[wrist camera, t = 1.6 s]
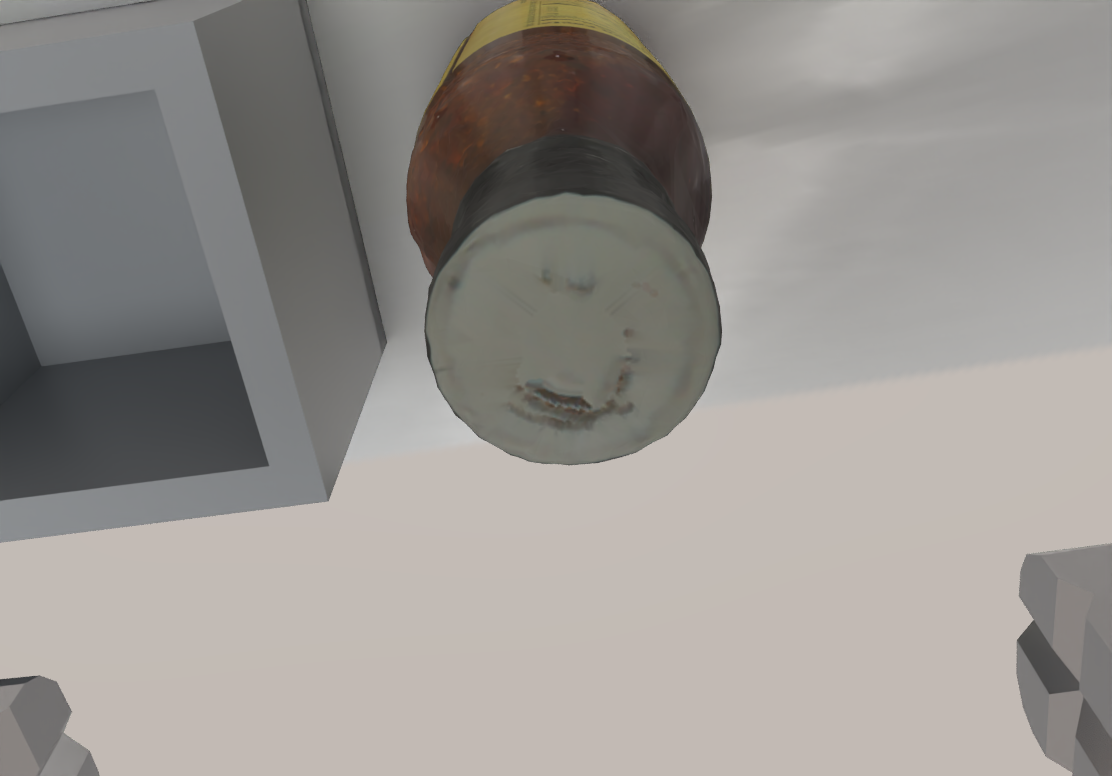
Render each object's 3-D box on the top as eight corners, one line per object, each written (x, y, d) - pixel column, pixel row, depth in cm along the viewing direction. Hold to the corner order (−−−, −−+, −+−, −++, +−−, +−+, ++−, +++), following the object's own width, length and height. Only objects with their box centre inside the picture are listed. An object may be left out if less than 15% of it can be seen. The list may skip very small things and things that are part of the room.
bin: (300, -23, 31) (193, 21, 22) (386, 342, 36) (328, 501, 27) (-108, 41, 32) (-374, 110, 23) (32, 390, 37) (-139, 559, 28)
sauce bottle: (551, 236, 34) (541, 640, 16) (406, 94, 32) (213, 374, 14) (705, 90, 32) (889, 367, 14) (560, -71, 30) (562, 14, 12)
